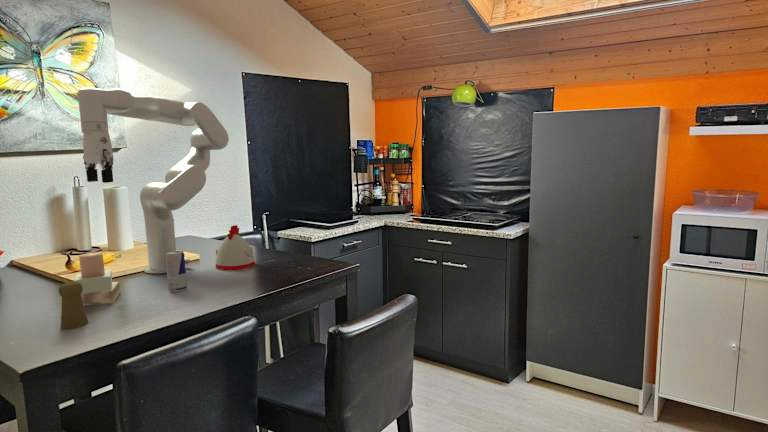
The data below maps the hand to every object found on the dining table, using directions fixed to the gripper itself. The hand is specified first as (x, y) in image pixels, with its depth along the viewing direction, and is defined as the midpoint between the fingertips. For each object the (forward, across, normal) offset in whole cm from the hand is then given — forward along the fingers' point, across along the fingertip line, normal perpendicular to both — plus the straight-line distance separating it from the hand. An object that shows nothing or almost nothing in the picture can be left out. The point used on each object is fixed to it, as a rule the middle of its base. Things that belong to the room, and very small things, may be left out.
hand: (100, 181), depth 169 cm
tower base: (+34, -16, +12) cm, 40 cm away
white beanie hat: (+34, -18, -37) cm, 53 cm away
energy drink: (+34, -28, -6) cm, 44 cm away
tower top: (+30, -16, +13) cm, 36 cm away
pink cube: (+26, -16, +13) cm, 33 cm away
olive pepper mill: (+34, -34, +26) cm, 54 cm away
